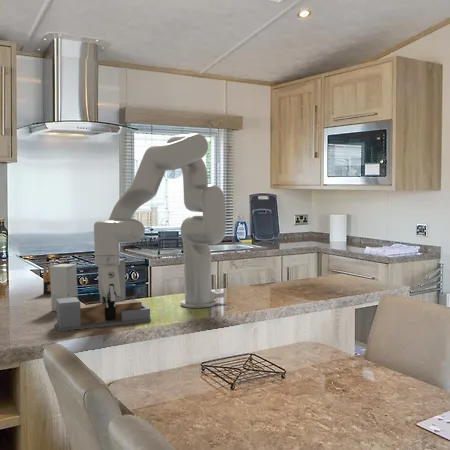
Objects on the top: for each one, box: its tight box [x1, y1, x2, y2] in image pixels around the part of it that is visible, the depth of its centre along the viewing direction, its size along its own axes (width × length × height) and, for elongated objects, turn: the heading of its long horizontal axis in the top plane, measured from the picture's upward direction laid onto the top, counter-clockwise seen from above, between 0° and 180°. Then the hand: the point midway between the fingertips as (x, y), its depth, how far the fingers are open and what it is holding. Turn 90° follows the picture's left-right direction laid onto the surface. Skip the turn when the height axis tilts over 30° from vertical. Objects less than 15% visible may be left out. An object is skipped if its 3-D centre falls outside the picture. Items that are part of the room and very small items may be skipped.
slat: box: [80, 299, 143, 324], centre depth 175 cm, size 19×4×5 cm, turn 114°
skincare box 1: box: [50, 263, 79, 312], centre depth 195 cm, size 8×7×16 cm
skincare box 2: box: [99, 258, 126, 304], centre depth 206 cm, size 8×7×16 cm
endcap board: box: [54, 297, 152, 333], centre depth 174 cm, size 28×9×8 cm, turn 114°
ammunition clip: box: [42, 262, 69, 296], centre depth 225 cm, size 11×2×12 cm, turn 111°
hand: (109, 317), depth 175 cm, fingers closed on slat, 3 cm apart
